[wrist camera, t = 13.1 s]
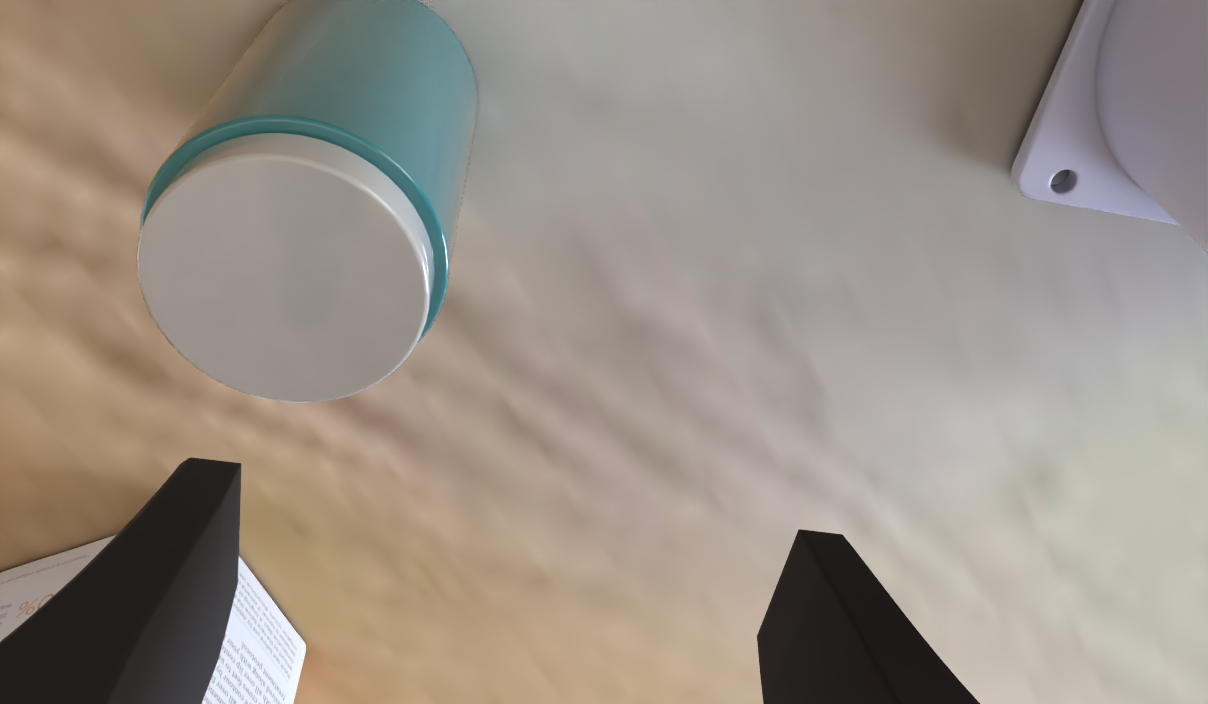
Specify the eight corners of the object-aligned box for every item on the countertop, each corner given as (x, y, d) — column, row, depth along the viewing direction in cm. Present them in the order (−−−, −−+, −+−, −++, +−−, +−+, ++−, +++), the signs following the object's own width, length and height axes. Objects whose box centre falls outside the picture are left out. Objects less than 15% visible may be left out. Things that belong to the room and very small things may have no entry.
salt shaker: (492, 5, 21) (462, 171, 14) (463, 214, 23) (425, 434, 17) (253, -41, 20) (112, 112, 14) (247, 178, 22) (125, 393, 16)
